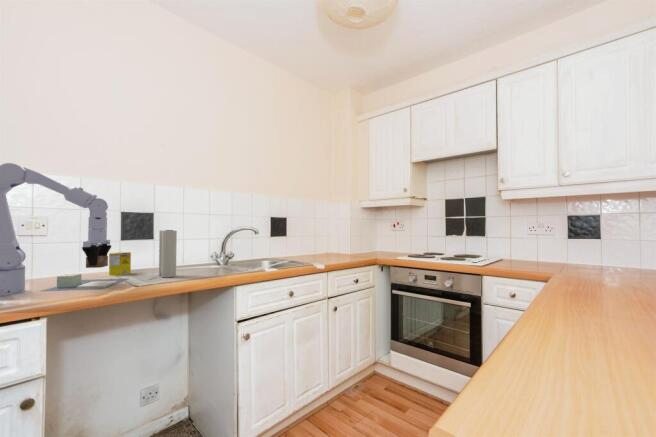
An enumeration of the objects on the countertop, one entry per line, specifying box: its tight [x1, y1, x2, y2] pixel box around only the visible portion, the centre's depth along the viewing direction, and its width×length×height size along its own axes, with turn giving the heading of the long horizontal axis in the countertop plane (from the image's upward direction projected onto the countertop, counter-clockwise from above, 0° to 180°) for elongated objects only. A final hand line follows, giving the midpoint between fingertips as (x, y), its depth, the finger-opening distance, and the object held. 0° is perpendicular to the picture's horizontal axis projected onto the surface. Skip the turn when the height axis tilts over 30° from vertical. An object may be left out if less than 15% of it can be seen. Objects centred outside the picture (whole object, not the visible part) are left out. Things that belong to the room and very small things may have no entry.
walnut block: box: [85, 255, 109, 269], centre depth 116 cm, size 5×5×4 cm
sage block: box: [56, 273, 82, 288], centre depth 111 cm, size 5×5×4 cm
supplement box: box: [108, 251, 132, 276], centre depth 137 cm, size 6×6×11 cm
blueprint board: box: [41, 278, 129, 292], centre depth 114 cm, size 21×19×2 cm
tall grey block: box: [158, 229, 178, 278], centre depth 138 cm, size 7×6×21 cm
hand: (97, 264), depth 116 cm, fingers closed on walnut block, 5 cm apart
